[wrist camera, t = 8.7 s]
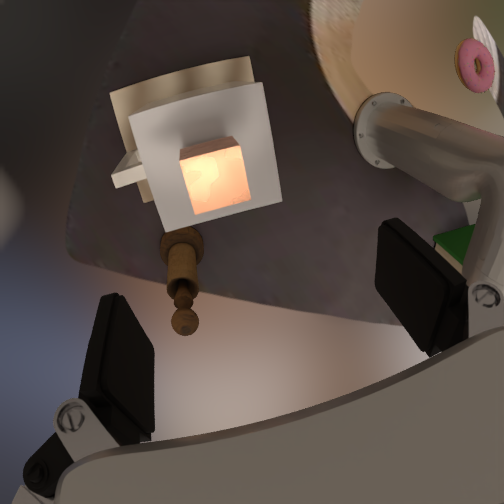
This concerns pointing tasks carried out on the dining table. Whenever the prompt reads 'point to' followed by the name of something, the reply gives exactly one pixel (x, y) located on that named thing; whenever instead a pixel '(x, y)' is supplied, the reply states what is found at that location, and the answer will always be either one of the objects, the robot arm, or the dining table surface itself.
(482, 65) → the doughnut
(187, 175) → the brown square-faced block
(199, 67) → the birch board
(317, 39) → the dining table surface
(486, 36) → the dining table surface
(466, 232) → the hardback book
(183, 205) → the press pot
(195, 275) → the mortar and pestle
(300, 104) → the dining table surface
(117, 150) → the dining table surface
